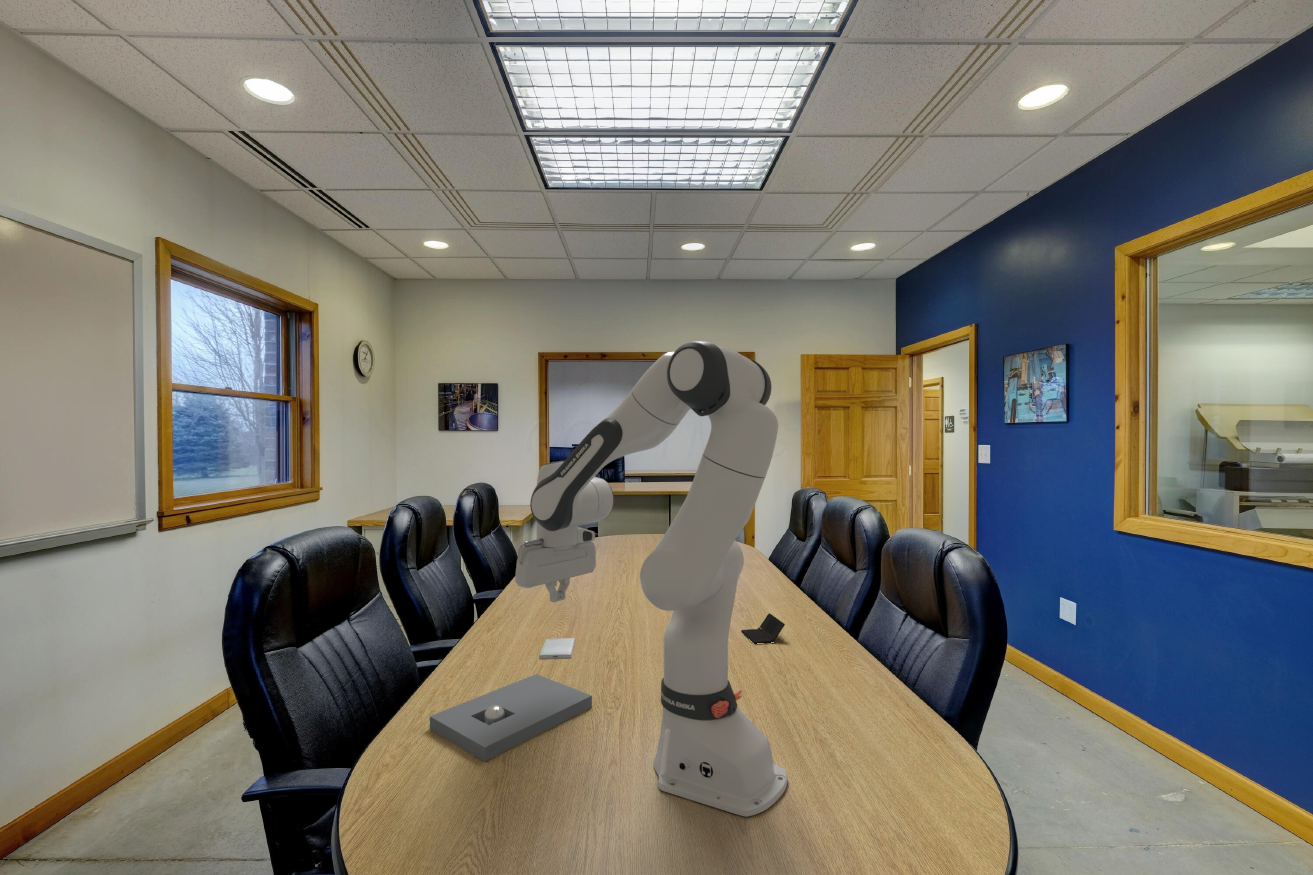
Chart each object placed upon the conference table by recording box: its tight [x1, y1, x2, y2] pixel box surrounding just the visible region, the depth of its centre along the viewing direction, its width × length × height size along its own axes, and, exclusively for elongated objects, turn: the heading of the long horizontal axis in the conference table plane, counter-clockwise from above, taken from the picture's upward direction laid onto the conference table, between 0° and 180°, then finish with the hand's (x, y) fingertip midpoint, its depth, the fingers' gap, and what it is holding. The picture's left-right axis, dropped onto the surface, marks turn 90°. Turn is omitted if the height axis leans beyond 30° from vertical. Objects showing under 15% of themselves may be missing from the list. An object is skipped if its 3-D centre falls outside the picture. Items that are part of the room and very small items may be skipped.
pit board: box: [429, 673, 593, 763], centre depth 111 cm, size 18×26×2 cm
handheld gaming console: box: [740, 613, 786, 645], centre depth 160 cm, size 12×7×10 cm
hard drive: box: [539, 637, 576, 660], centre depth 150 cm, size 2×8×12 cm
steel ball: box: [484, 705, 505, 725], centre depth 108 cm, size 4×4×4 cm
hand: (557, 600), depth 119 cm, fingers closed
